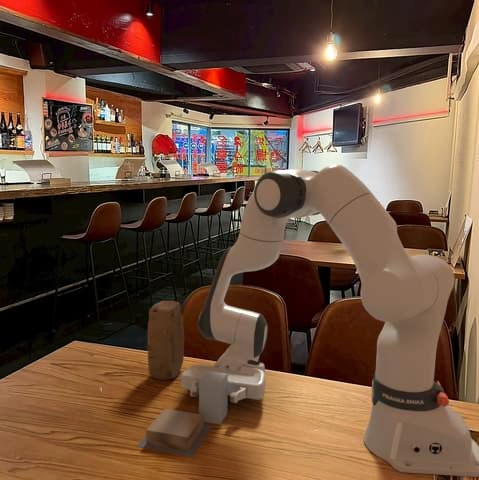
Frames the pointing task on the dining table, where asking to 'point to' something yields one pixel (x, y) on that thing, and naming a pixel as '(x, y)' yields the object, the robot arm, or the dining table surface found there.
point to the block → (165, 340)
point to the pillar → (213, 396)
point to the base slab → (175, 429)
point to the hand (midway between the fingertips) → (212, 396)
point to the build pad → (175, 451)
